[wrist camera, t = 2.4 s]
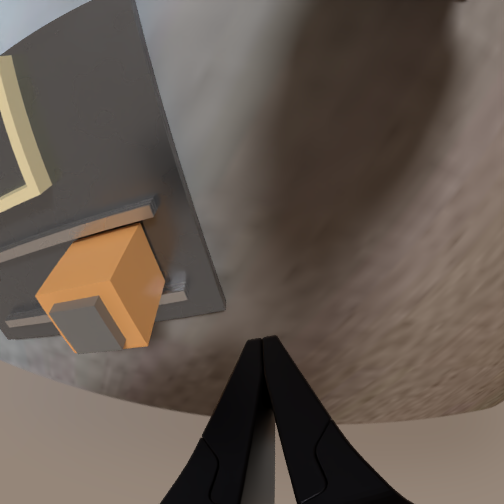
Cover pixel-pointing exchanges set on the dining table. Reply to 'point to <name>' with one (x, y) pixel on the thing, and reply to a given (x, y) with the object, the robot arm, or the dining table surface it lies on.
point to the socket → (20, 139)
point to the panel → (97, 165)
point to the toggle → (105, 291)
